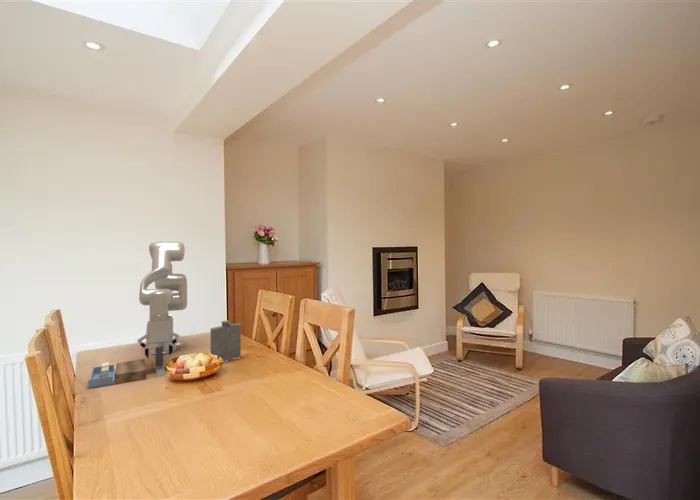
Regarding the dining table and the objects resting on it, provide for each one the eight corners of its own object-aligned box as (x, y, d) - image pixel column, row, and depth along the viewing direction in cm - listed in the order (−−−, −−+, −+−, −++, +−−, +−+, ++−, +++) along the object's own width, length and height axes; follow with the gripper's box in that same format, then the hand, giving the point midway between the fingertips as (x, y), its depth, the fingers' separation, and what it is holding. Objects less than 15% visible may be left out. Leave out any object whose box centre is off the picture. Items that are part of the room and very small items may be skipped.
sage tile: (108, 366, 154) (101, 367, 153) (108, 369, 150) (101, 371, 149) (108, 378, 154) (101, 379, 153) (108, 381, 150) (101, 383, 149)
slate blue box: (115, 371, 164) (115, 364, 164) (114, 384, 149) (114, 376, 149) (92, 375, 159) (92, 367, 159) (89, 388, 144) (88, 380, 144)
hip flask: (212, 365, 173) (212, 324, 173) (208, 363, 175) (208, 323, 175) (241, 358, 185) (241, 319, 185) (237, 356, 187) (237, 318, 187)
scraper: (161, 365, 173) (161, 343, 173) (164, 375, 159) (164, 351, 159) (154, 367, 171) (154, 344, 171) (156, 377, 158) (156, 352, 158)
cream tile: (108, 362, 160) (102, 363, 159) (108, 365, 156) (101, 366, 155) (109, 373, 160) (102, 374, 159) (108, 376, 156) (101, 377, 155)
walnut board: (144, 367, 170) (144, 359, 170) (146, 379, 155) (146, 369, 155) (116, 371, 164) (116, 363, 164) (115, 384, 149) (115, 374, 149)
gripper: (178, 314, 173) (178, 350, 173) (136, 318, 164) (136, 356, 164) (180, 317, 167) (180, 354, 167) (137, 321, 157) (137, 360, 157)
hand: (158, 355), depth 165 cm, fingers open, 8 cm apart
